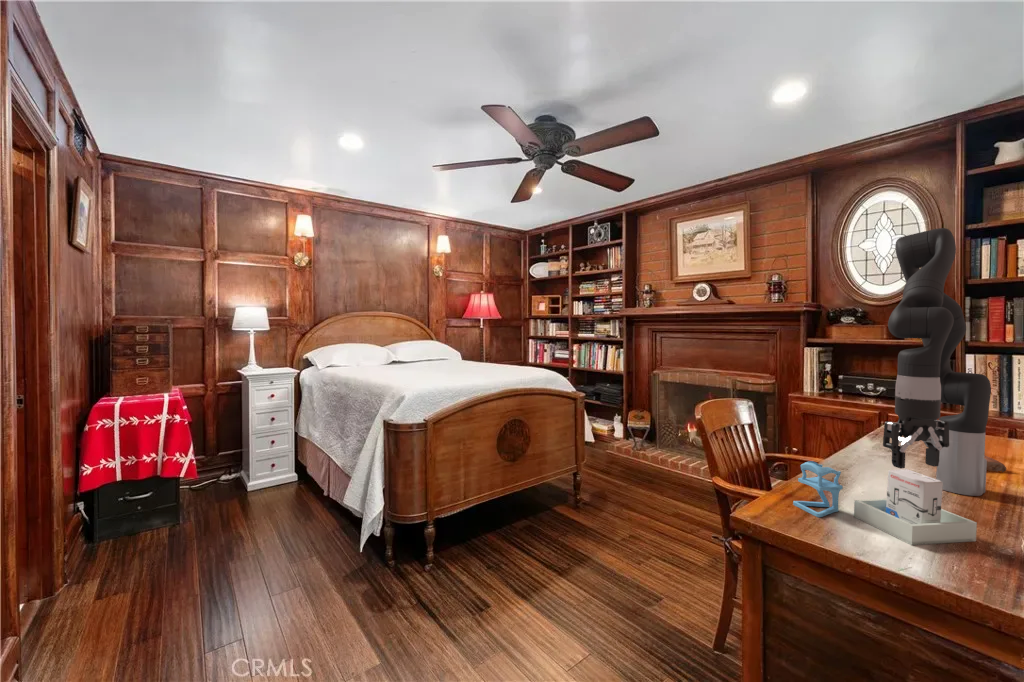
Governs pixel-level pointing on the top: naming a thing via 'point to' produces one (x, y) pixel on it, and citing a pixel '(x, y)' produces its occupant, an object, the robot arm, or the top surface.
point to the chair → (820, 488)
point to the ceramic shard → (994, 465)
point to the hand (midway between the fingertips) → (915, 466)
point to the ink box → (914, 497)
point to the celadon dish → (916, 525)
